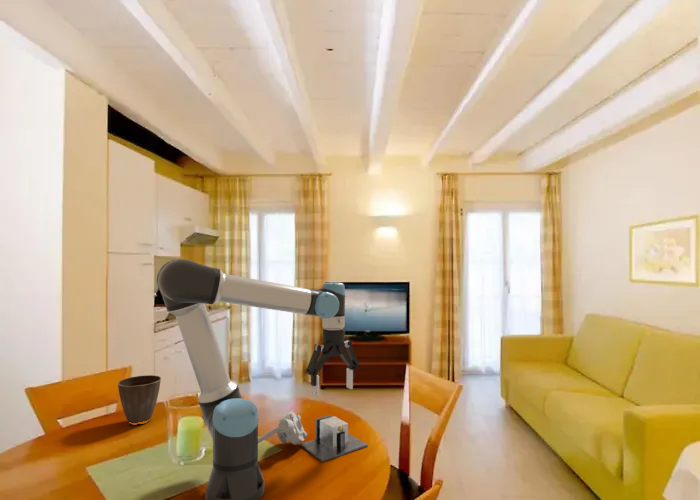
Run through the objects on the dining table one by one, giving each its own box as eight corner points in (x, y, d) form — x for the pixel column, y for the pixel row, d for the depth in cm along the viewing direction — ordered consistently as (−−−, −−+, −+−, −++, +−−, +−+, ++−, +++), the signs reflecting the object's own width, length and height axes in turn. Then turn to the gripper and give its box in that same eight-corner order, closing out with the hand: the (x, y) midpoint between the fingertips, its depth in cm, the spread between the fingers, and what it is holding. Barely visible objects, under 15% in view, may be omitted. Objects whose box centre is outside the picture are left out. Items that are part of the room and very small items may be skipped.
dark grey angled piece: (322, 461, 128) (322, 437, 128) (299, 445, 139) (300, 422, 139) (367, 446, 139) (367, 423, 139) (343, 432, 150) (343, 411, 150)
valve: (310, 439, 142) (293, 437, 129) (266, 466, 142) (244, 465, 129) (300, 411, 147) (282, 406, 134) (256, 436, 147) (235, 433, 135)
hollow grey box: (333, 451, 133) (333, 428, 134) (319, 442, 140) (319, 420, 140) (349, 446, 137) (348, 423, 137) (334, 437, 144) (334, 416, 144)
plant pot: (107, 427, 155) (108, 384, 156) (138, 413, 169) (139, 373, 170) (139, 431, 151) (140, 387, 151) (169, 417, 165) (169, 376, 165)
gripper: (307, 333, 129) (306, 401, 129) (369, 326, 144) (369, 387, 144) (295, 330, 136) (295, 395, 135) (356, 323, 150) (356, 382, 150)
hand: (333, 391), depth 139 cm, fingers open, 13 cm apart
